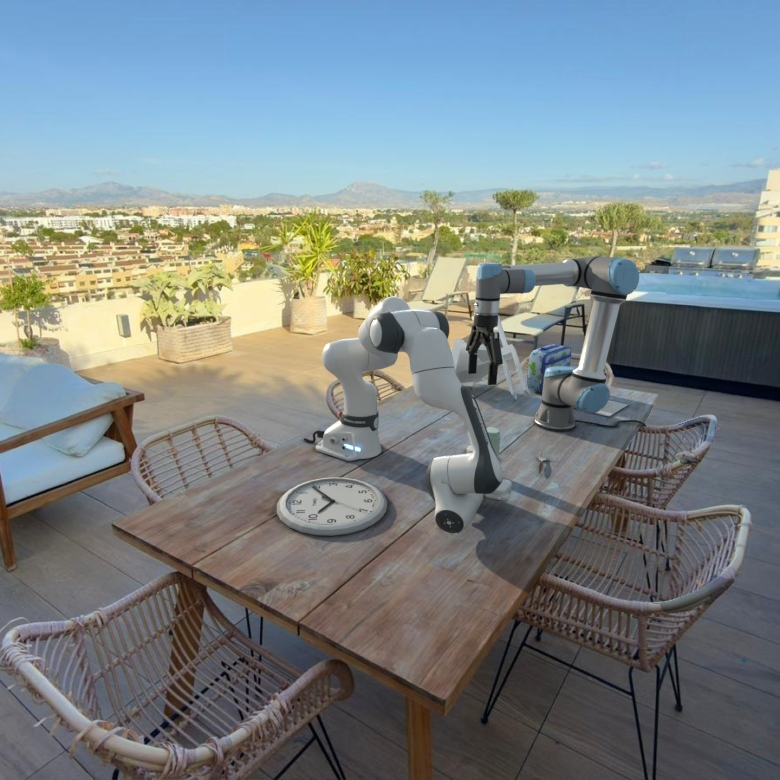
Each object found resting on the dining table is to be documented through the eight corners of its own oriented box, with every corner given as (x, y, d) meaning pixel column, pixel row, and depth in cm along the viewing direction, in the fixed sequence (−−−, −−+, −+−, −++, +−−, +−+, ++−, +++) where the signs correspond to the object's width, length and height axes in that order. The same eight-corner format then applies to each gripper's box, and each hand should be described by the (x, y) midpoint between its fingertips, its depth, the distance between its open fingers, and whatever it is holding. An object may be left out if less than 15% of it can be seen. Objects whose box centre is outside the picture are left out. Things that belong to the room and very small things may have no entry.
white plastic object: (461, 429, 252) (437, 405, 227) (444, 352, 274) (420, 323, 250) (535, 404, 240) (518, 377, 215) (510, 326, 262) (492, 293, 237)
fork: (534, 474, 163) (535, 468, 162) (539, 454, 177) (539, 449, 176) (543, 475, 162) (544, 469, 161) (547, 455, 176) (547, 450, 175)
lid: (488, 455, 176) (488, 450, 175) (471, 458, 174) (472, 452, 173) (479, 448, 181) (479, 443, 181) (463, 450, 179) (463, 445, 179)
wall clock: (392, 527, 129) (268, 531, 127) (391, 533, 130) (269, 537, 127) (383, 473, 158) (282, 475, 155) (383, 478, 158) (282, 480, 156)
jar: (477, 478, 160) (481, 431, 155) (481, 470, 165) (484, 425, 160) (495, 481, 158) (499, 434, 153) (498, 474, 163) (502, 428, 158)
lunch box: (543, 396, 238) (548, 352, 231) (522, 391, 245) (526, 347, 239) (570, 385, 255) (575, 343, 249) (550, 381, 262) (555, 340, 256)
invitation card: (608, 416, 214) (573, 407, 224) (608, 416, 214) (573, 408, 224) (628, 404, 229) (594, 396, 238) (628, 405, 229) (594, 397, 238)
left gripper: (507, 490, 132) (517, 468, 145) (431, 474, 140) (447, 455, 152) (505, 512, 134) (515, 489, 146) (430, 495, 142) (445, 474, 154)
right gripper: (458, 308, 173) (454, 369, 180) (495, 320, 151) (490, 390, 157) (478, 307, 176) (474, 368, 182) (518, 319, 153) (512, 388, 160)
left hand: (480, 471), depth 149 cm, fingers open, 8 cm apart
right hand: (481, 378), depth 170 cm, fingers open, 13 cm apart
